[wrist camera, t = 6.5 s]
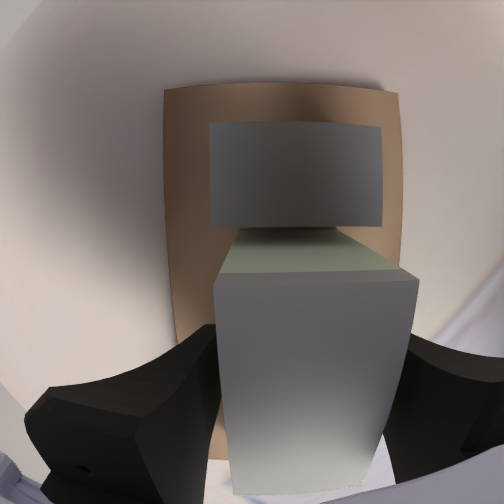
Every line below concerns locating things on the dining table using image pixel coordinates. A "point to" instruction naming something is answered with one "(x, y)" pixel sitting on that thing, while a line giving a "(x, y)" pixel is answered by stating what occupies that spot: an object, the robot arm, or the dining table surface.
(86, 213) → the dining table surface
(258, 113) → the post base
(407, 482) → the robot arm
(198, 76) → the dining table surface
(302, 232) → the bracket block
